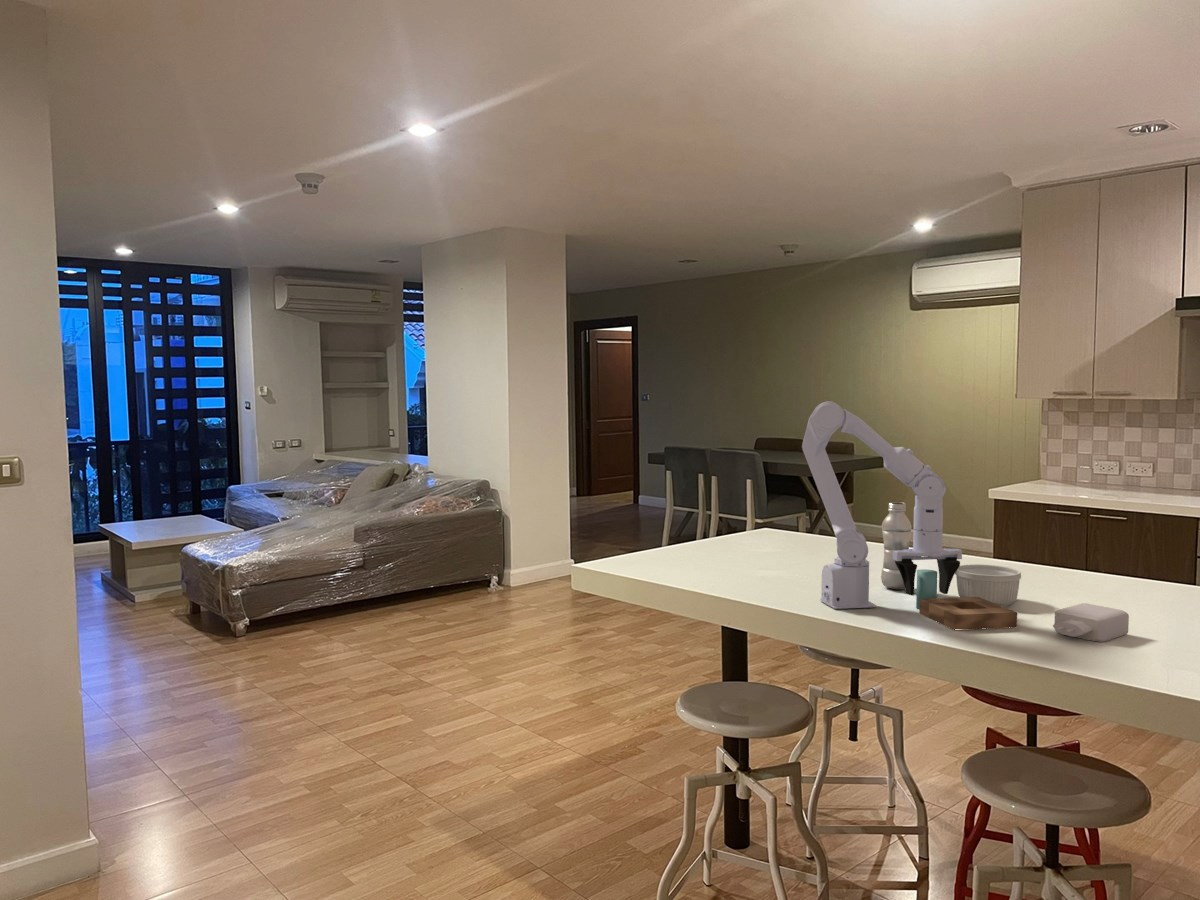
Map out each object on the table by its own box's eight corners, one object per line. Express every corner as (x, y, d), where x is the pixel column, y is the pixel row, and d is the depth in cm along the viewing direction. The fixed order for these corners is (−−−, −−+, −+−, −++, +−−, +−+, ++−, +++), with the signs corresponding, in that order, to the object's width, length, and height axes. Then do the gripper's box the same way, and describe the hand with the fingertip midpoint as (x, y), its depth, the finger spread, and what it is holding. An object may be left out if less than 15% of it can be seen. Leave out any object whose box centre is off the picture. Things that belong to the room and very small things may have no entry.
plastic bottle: (913, 592, 195) (914, 505, 194) (882, 591, 196) (883, 504, 195) (908, 586, 201) (910, 502, 200) (878, 585, 202) (880, 501, 201)
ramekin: (942, 600, 188) (943, 568, 187) (971, 591, 196) (972, 561, 196) (1003, 611, 177) (1004, 578, 177) (1031, 601, 186) (1032, 570, 186)
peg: (922, 611, 177) (923, 573, 177) (912, 606, 181) (913, 569, 181) (940, 610, 178) (941, 572, 177) (930, 606, 182) (930, 569, 181)
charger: (1036, 638, 158) (1077, 625, 167) (1088, 649, 151) (1128, 636, 159) (1037, 612, 158) (1078, 601, 166) (1089, 623, 150) (1129, 611, 159)
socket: (954, 630, 163) (954, 614, 162) (919, 613, 175) (919, 599, 175) (1016, 627, 164) (1017, 612, 164) (977, 611, 177) (978, 596, 177)
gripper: (904, 533, 173) (903, 599, 174) (970, 531, 175) (969, 596, 176) (888, 528, 180) (887, 591, 181) (952, 526, 182) (950, 589, 183)
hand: (926, 593), depth 179 cm, fingers open, 7 cm apart
